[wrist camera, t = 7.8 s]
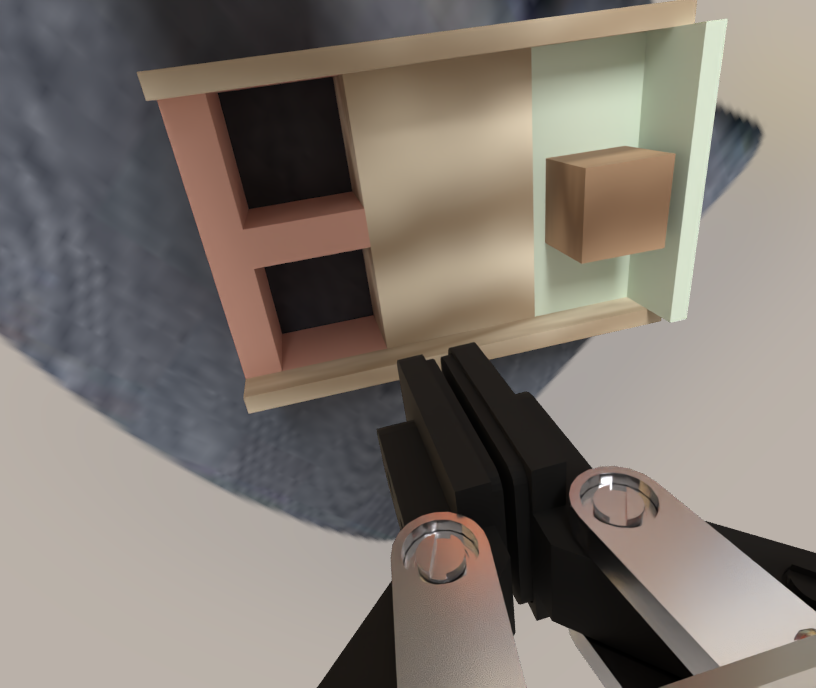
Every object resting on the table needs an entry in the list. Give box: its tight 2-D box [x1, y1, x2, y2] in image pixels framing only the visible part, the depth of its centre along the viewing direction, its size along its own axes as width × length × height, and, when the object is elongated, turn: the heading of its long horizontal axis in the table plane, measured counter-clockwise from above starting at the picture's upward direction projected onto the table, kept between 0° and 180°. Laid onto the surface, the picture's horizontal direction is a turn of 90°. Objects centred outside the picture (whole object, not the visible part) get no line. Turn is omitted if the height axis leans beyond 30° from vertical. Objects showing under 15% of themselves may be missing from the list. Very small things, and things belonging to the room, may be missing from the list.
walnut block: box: [545, 146, 676, 264], centre depth 26 cm, size 4×4×4 cm
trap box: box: [137, 0, 728, 414], centre depth 27 cm, size 16×24×9 cm, turn 97°
